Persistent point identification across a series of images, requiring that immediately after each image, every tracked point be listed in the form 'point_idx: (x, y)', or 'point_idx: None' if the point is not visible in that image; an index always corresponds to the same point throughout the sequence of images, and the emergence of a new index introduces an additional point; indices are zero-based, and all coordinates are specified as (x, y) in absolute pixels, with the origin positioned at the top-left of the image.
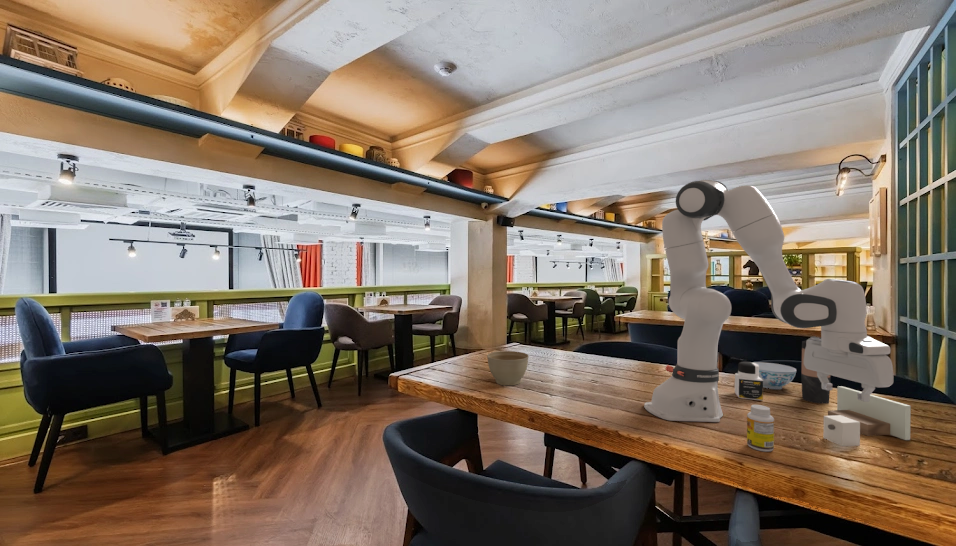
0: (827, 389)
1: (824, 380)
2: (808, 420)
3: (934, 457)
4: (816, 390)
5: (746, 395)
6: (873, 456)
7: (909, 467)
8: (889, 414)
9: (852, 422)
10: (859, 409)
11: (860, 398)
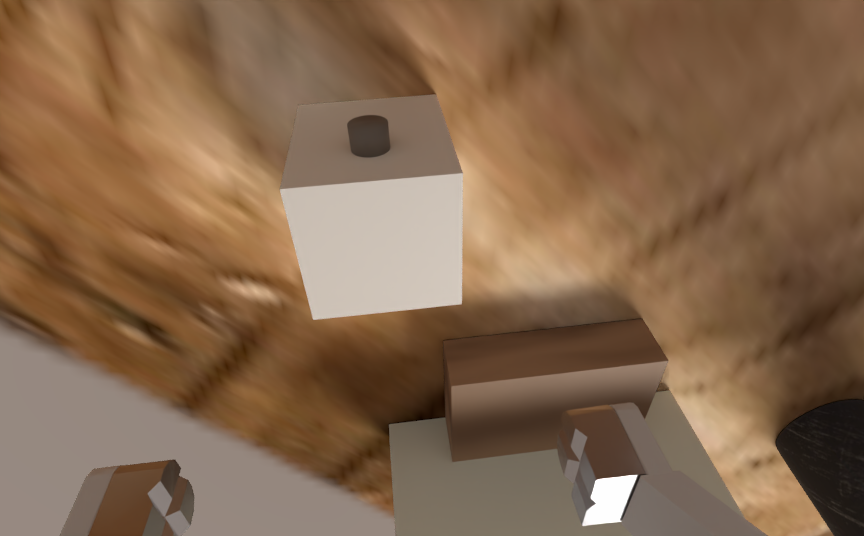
0: (566, 420)
1: (665, 523)
2: (685, 235)
3: (211, 398)
4: (847, 467)
5: None
6: (152, 164)
7: (26, 228)
8: (463, 502)
9: (300, 269)
10: None
11: (123, 484)
